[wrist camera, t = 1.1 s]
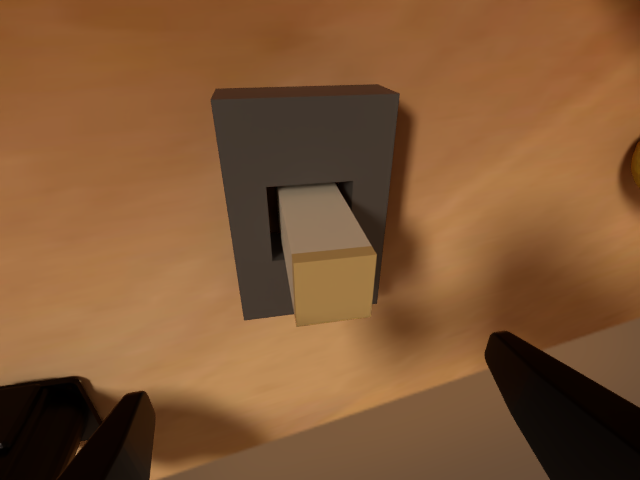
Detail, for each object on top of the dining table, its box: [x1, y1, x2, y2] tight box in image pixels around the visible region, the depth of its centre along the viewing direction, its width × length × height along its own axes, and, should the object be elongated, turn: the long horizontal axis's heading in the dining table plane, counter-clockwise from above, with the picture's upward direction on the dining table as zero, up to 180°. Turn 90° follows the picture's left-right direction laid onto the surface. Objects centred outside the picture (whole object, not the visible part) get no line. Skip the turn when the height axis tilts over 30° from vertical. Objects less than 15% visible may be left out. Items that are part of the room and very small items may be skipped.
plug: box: [276, 182, 377, 327], centre depth 17 cm, size 3×3×9 cm
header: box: [211, 84, 400, 320], centre depth 19 cm, size 12×8×3 cm, turn 0°
